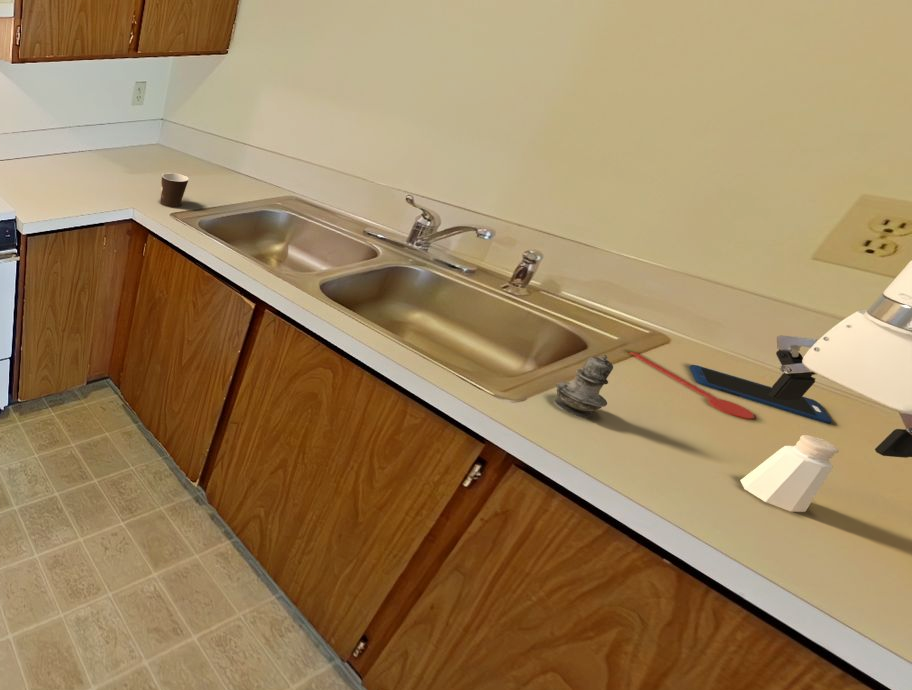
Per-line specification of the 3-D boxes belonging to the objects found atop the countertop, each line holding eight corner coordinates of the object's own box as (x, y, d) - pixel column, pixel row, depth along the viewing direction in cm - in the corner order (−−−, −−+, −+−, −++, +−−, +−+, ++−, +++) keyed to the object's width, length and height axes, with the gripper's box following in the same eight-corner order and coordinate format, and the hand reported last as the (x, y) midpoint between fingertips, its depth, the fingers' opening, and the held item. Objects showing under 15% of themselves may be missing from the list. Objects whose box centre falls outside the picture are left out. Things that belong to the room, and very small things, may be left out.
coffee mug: (177, 210, 171) (183, 183, 167) (153, 204, 176) (157, 177, 172) (190, 201, 179) (195, 174, 175) (166, 195, 184) (170, 169, 180)
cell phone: (832, 426, 86) (835, 423, 86) (695, 384, 95) (698, 381, 95) (815, 404, 91) (818, 400, 90) (687, 365, 100) (689, 362, 99)
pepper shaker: (797, 520, 71) (852, 464, 66) (732, 487, 75) (779, 433, 71) (810, 506, 72) (864, 451, 68) (745, 475, 77) (792, 422, 73)
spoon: (762, 421, 87) (764, 419, 87) (732, 419, 87) (734, 417, 87) (644, 355, 103) (645, 352, 103) (619, 353, 103) (621, 351, 103)
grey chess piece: (563, 417, 88) (597, 362, 83) (538, 393, 93) (569, 341, 88) (607, 425, 86) (644, 370, 81) (579, 401, 91) (613, 347, 87)
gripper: (1109, 372, 54) (977, 484, 60) (855, 285, 69) (774, 381, 76) (1027, 366, 54) (906, 478, 61) (794, 282, 70) (719, 377, 77)
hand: (833, 424), depth 68 cm, fingers open, 9 cm apart
